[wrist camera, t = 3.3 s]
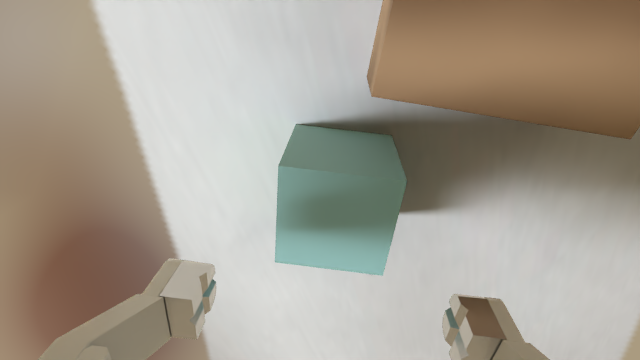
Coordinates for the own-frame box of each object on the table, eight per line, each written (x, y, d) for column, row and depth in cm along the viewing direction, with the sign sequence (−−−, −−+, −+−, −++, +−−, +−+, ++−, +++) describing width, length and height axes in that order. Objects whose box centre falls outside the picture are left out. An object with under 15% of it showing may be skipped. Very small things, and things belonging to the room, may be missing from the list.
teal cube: (296, 123, 17) (278, 166, 13) (391, 134, 17) (407, 181, 12) (291, 203, 19) (275, 262, 15) (374, 213, 19) (382, 275, 15)
